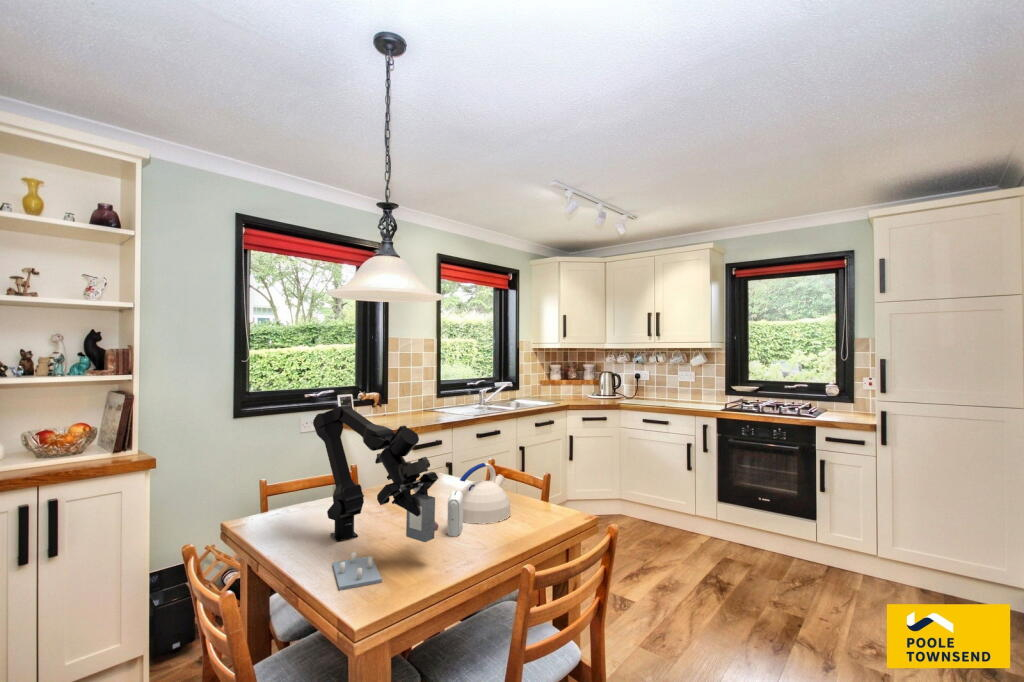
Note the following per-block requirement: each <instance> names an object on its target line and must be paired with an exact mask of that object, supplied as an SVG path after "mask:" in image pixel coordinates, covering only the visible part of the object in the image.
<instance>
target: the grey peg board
mask: <svg viewBox="0 0 1024 682" xmlns="http://www.w3.org/2000/svg"><path fill="white" fill-rule="evenodd" d="M350 558H351V559H346V560H339V561H334V562H332V568H333V572H334V577H335V580H336V584H337V587H338V591H342V590H343V591H344V590H347V589H349V590H350V589H354V588H359V587H364V586H369V585H374V584H380V583H382V582H383V579H382V576H381V574H380V571H379V570H378V567H377V566H376V563H375V560H374V558H373V556H372V555H369V556H364V557H357V552H356V551H352V552H351V553H350Z"/></svg>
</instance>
